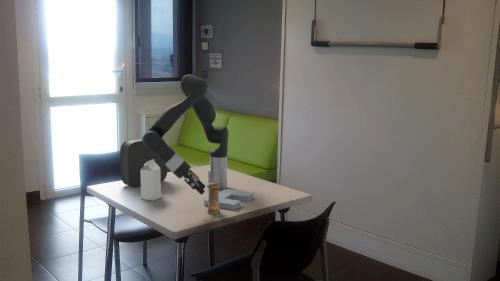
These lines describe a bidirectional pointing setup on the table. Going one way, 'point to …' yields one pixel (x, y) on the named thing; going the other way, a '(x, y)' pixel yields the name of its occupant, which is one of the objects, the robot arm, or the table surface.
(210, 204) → the bobbin
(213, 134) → the robot arm
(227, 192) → the notched board
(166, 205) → the table surface
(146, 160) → the speaker
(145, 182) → the milk carton
